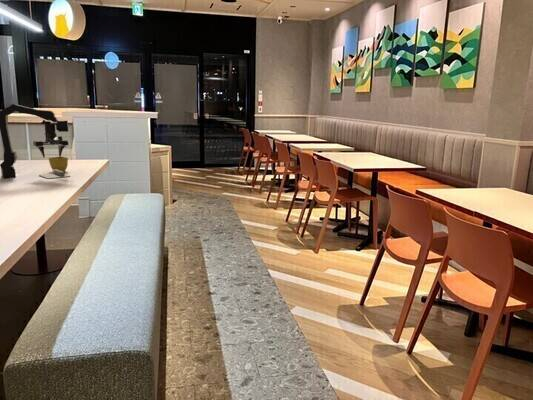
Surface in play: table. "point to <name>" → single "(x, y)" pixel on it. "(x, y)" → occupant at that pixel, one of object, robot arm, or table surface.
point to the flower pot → (58, 163)
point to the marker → (58, 172)
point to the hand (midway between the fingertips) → (52, 157)
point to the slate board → (52, 176)
